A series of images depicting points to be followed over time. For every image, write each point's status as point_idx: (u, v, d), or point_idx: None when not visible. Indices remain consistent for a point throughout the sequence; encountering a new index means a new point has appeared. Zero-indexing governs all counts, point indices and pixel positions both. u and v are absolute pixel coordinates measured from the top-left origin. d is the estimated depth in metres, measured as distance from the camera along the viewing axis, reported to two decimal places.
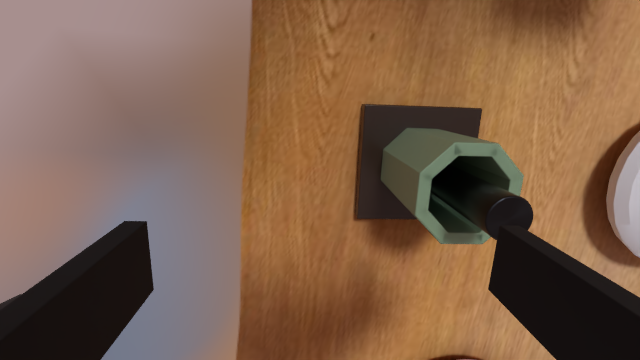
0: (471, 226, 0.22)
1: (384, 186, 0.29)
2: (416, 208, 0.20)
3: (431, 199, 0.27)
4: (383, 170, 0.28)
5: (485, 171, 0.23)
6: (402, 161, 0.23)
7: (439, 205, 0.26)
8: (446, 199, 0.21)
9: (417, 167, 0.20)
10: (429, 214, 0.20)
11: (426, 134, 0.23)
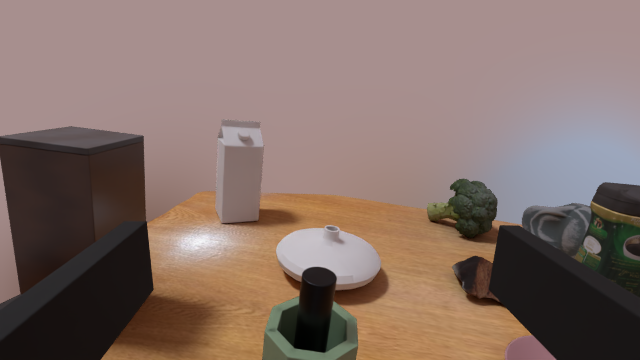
0: (344, 331, 0.25)
1: None
2: None
3: None
4: None
5: None
6: None
7: None
8: (316, 343, 0.23)
9: None
10: (328, 351, 0.21)
11: None
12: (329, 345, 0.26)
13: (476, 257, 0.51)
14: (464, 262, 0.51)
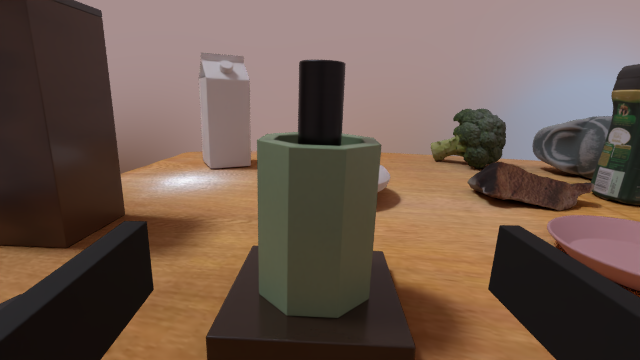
0: None
1: (348, 314, 0.18)
2: (336, 148, 0.15)
3: None
4: (319, 304, 0.17)
5: None
6: (287, 218, 0.16)
7: None
8: None
9: (285, 164, 0.16)
10: (343, 145, 0.16)
11: (258, 219, 0.18)
12: None
13: (494, 163, 0.46)
14: (481, 171, 0.46)
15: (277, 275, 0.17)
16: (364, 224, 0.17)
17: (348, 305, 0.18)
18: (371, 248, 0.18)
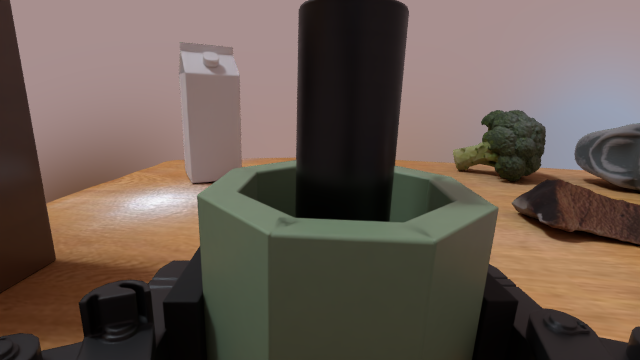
0: (425, 211, 0.09)
1: None
2: (405, 239, 0.05)
3: None
4: None
5: None
6: None
7: None
8: None
9: (260, 278, 0.06)
10: (417, 219, 0.06)
11: None
12: None
13: (549, 181, 0.36)
14: (532, 191, 0.36)
15: None
16: None
17: None
18: None
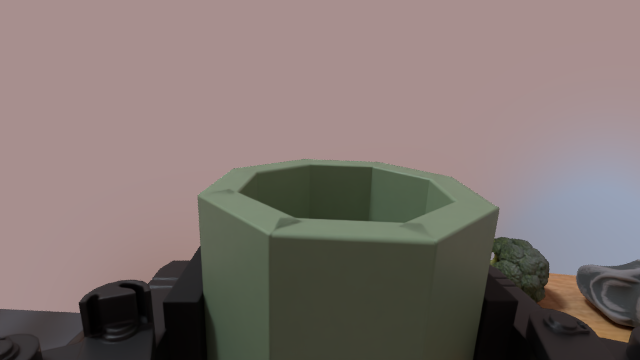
0: (425, 212, 0.09)
1: None
2: (406, 239, 0.05)
3: None
4: None
5: None
6: None
7: None
8: None
9: (261, 278, 0.06)
10: (417, 219, 0.06)
11: None
12: None
13: None
14: None
15: None
16: None
17: None
18: None
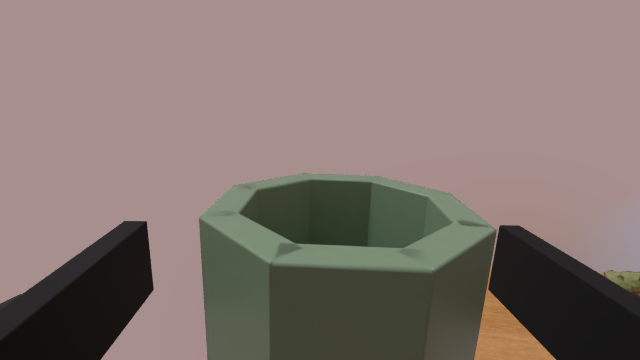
0: (424, 228, 0.10)
1: None
2: (404, 267, 0.05)
3: None
4: None
5: None
6: None
7: None
8: None
9: (262, 304, 0.06)
10: (416, 244, 0.06)
11: None
12: None
13: None
14: None
15: None
16: None
17: None
18: None
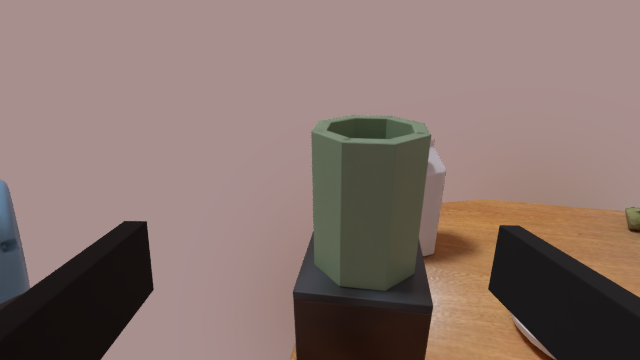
0: None
1: None
2: (386, 143, 0.16)
3: None
4: (368, 279, 0.19)
5: None
6: (340, 205, 0.18)
7: None
8: None
9: (338, 157, 0.17)
10: (393, 138, 0.17)
11: (313, 202, 0.20)
12: None
13: None
14: None
15: (331, 252, 0.20)
16: (412, 209, 0.18)
17: (395, 280, 0.20)
18: (418, 230, 0.19)
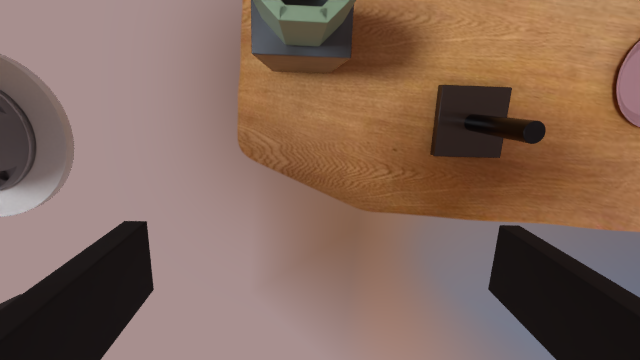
0: None
1: (482, 142, 0.48)
2: (318, 21, 0.18)
3: None
4: (306, 44, 0.26)
5: None
6: (281, 31, 0.21)
7: None
8: None
9: (276, 20, 0.19)
10: (326, 4, 0.18)
11: (254, 2, 0.21)
12: None
13: None
14: None
15: (276, 32, 0.24)
16: (342, 17, 0.22)
17: (327, 37, 0.26)
18: (347, 14, 0.23)
